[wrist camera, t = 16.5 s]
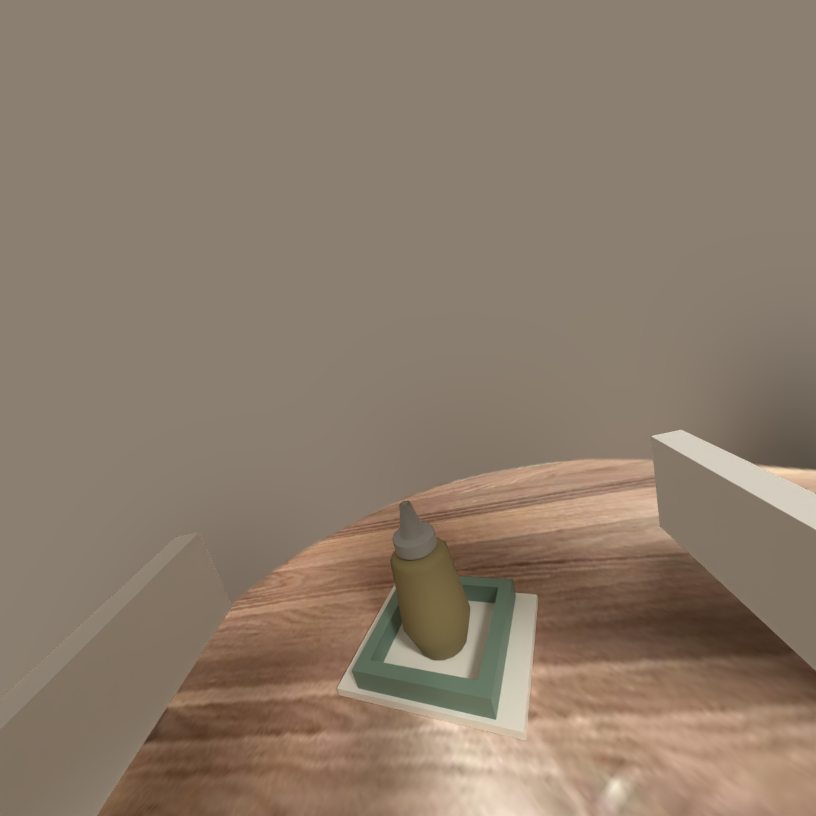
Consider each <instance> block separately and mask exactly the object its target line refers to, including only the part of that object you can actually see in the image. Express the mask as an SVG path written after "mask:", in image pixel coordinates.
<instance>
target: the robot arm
mask: <svg viewBox="0 0 816 816" xmlns="http://www.w3.org/2000/svg"><path fill="white" fill-rule="evenodd" d="M651 441H652V451H653V461H654V471H655V481H656V491H657V501H658V512H659V522H660V527H661V528H662V529H663V530H665V531H666V532H667V533H668V534H669V535H670V536H671V537H672V538H673V539H674V540H675V541H676V542H677V543H679V544H680V545H681V546H682V547H683V548H684V549H685V550H686V551H687V552H688V553H689V554H690V555H691V556H693V557H694V558H695V559H696V560H697V561H698V562H699V563H700V564H701V565H702V566H703V567H704V568H705V569H706V570H708V571H709V572H710V573H711V574H712V575H713V576H714V577H715V578H716V579H717V580H718V581H719V582H720V583H722V584H723V585H724V586H725V587H726V588H727V589H728V590H729V591H730V592H731V593H732V594H733V595H734V596H736V597H737V598H738V599H739V600H740V601H741V602H742V603H743V604H744V605H745V606H746V607H747V608H748V609H750V610H751V611H752V612H753V613H754V614H755V615H756V616H757V617H758V618H759V619H760V620H761V621H762V622H763V623H765V624H766V625H767V626H768V627H769V628H770V629H771V630H772V631H773V632H774V633H775V634H776V635H777V636H779V637H780V638H781V639H782V640H783V641H784V642H785V643H786V644H787V645H788V646H789V647H790V648H791V649H793V650H794V651H795V652H796V653H797V654H798V655H799V656H800V657H801V658H802V659H803V660H804V661H805V662H807V663H808V664H809V665H810V666H811V667H812V668H813V669H814V670H815V671H816V494H815V493H813V492H811V491H809V490H807V489H804V488H802V487H800V486H798V485H796V484H794V483H792V482H790V481H788V480H786V479H783V478H781V477H779V476H777V475H775V474H773V473H771V472H769V471H767V470H765V469H763V468H760V467H758V466H756V465H754V464H752V463H750V462H748V461H746V460H743V459H742V458H739V457H737V456H735V455H733V454H731V453H729V452H727V451H725V450H723V449H721V448H718V447H716V446H714V445H712V444H710V443H708V442H706V441H704V440H701V439H699V438H697V437H695V436H693V435H691V434H689V433H687V432H685V431H683V430H678V431H673V432H669V433H664V434H659V435H654V436H651ZM231 607H232V605H231V603H230V601H229V598H228V596H227V594H226V592H225V589H224V587H223V585H222V583H221V580H220V578H219V576H218V574H217V571H216V569H215V567H214V564H213V562H212V560H211V557H210V555H209V553H208V551H207V549H206V546H205V544H204V542H203V539H202V537H201V535H200V533H199V532H196V533H192V534H187V535H183V536H178V537H176V538H174V539H173V540H172V541H171V542H170V543H169V544H168V545H167V546H166V547H165V548H164V549H163V550H161V551H160V552H159V553H158V554H157V555H156V556H155V557H154V558H153V559H152V560H150V561H149V562H148V563H147V564H146V565H145V566H144V567H143V568H142V569H141V570H140V571H139V572H137V573H136V574H135V575H134V576H133V577H132V578H131V579H130V580H129V581H128V582H127V583H126V584H124V585H123V586H122V587H121V588H120V589H119V590H118V591H117V592H116V593H115V594H114V595H112V597H110V598H109V599H108V600H107V601H106V602H105V603H104V604H103V605H102V606H101V607H99V608H98V609H97V610H96V611H95V612H94V613H93V614H92V615H91V616H90V617H89V618H88V619H87V620H85V622H83V623H82V624H81V625H80V626H79V627H78V628H77V629H76V630H75V631H73V632H72V633H71V634H70V635H69V636H68V637H67V638H66V639H65V640H64V641H63V642H62V643H60V645H58V646H57V647H56V648H55V649H54V650H53V651H52V652H51V653H50V654H49V655H47V656H46V657H45V658H44V659H43V660H42V661H41V662H40V663H39V664H38V665H37V666H35V667H34V668H33V669H32V670H31V671H30V672H29V673H28V674H27V675H26V676H25V677H24V678H22V679H21V680H20V681H19V682H18V683H17V684H16V685H15V686H14V687H13V688H12V689H11V690H9V691H8V692H7V694H5V695H4V696H3V697H2V698H1V699H0V816H97V815H98V813H99V812H100V810H101V809H102V807H103V806H104V804H105V803H106V801H107V799H108V798H109V796H110V795H111V793H112V792H113V790H114V789H115V787H116V785H117V784H118V782H119V781H120V779H121V778H122V776H123V775H124V773H125V772H126V770H127V768H128V767H129V765H130V764H131V762H132V761H133V759H134V758H135V756H136V754H137V753H138V751H139V750H140V748H141V747H142V745H143V744H144V742H145V741H146V739H147V737H148V736H149V734H150V733H151V731H152V730H153V728H154V727H155V725H156V723H157V722H158V720H159V719H160V717H161V716H162V714H163V713H164V711H165V710H166V708H167V706H168V705H169V703H170V702H171V700H172V699H173V697H174V696H175V694H176V692H177V691H178V689H179V688H180V686H181V685H182V683H183V682H184V680H185V679H186V677H187V675H188V674H189V672H190V671H191V669H192V668H193V666H194V665H195V663H196V661H197V660H198V658H199V657H200V655H201V654H202V652H203V651H204V649H205V648H206V646H207V644H208V643H209V641H210V640H211V638H212V637H213V635H214V634H215V632H216V630H217V629H218V627H219V626H220V624H221V623H222V621H223V620H224V618H225V617H226V615H227V613H228V612H229V610H230V609H231Z"/></svg>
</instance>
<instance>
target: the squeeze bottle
mask: <svg viewBox="0 0 816 816" xmlns="http://www.w3.org/2000/svg"><path fill="white" fill-rule="evenodd" d="M399 507H400V527H401V528H400V529H399V530H398V531H396V532H395V534H394V536H393V543H394V546H395V551H394V552H393V555H392V557H391V566H392V571H393V577H394V582H395V587H396V593H397V598H398V603H399V609H400V614H401V619H402V625H403V630H404V632H405V633H406V634H407V635H408V636H409V638H410V639H411V640H412V641H413V642H414V644H415V645H416V646H417V647H418V648H419V650H420V651H421V652H422V653H423V654H424V656H425V657H428V658H430V659H432V660H446V659H449V658H452V657H454V656H455V655H457V654H458V653H459V652H460V651H462V649H463V647H464V645H465V644H466V642H467V634H468V627H469V619H470V605H469V602H468V600H467V597H466V594H465V592H464V589H463V587H462V584H461V581H460V579H459V576H458V573H457V571H456V568H455V566H454V563H453V560H452V558H451V555H450V553H449V550H448V548H447V545H446V543H445V542H444V541H442V540H441V539H439V538H437V537H436V534H435V530H434V528H433V526H432V525H430V524H429V523H427V522H421V521H420V519H419V518H418V516H417V514H416V512H415V510H414V509H413V507H412V505H411V503H410V502H409V501H404V502H402V503H400V505H399Z"/></svg>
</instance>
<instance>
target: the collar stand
mask: <svg viewBox="0 0 816 816" xmlns="http://www.w3.org/2000/svg"><path fill="white" fill-rule="evenodd" d="M459 579H460V581H461V584H462V587H463V589H464V592H465V594H466V597H467V600H468V602H469V605H470V619H469V627H468V634H467V642H466V644H465V645H464V647H463V649H462V651H460V652H459V653H458V654H457V655H455V656H454V657H452V658H449V659H446V660H432V659H430V658H428V657H425V656H424V654H423V653H422V652H421V651H420V650H419V648H418V647H417V646H416V645H415V644H414V642H413V641H412V640H411V639H410V638H409V636H408V635H407V634H406V633H405V632H404V630H403V625H402V619H401V614H400V609H399V603H398V598H397V593H396V587H395V584H394V586H393V588H392V590H391V591H390V593H389V595H388V597H387V599H386V600H385V602H384V604H383V606H382V608H381V609H380V611H379V613H378V615H377V617H376V618H375V620H374V622H373V624H372V626H371V627H370V629H369V631H368V633H367V635H366V637H365V638H364V640H363V642H362V644H361V646H360V647H359V649H358V651H357V653H356V655H355V656H354V658H353V660H352V662H351V664H350V665H349V667H348V669H347V671H346V673H345V675H344V676H343V678H342V680H341V682H340V684H339V685H338V687H337V690H338V693H339V695H340V696H345V697H349V698H353V699H357V700H361V701H365V702H369V703H373V704H377V705H381V706H385V707H390V708H394V709H398V710H402V711H406V712H410V713H414V714H418V715H422V716H426V717H430V718H435V719H439V720H443V721H447V722H451V723H455V724H459V725H463V726H467V727H471V728H475V729H479V730H484V731H488V732H492V733H496V734H500V735H504V736H508V737H512V738H516V739H520V740H524V741H526V732H527V721H528V710H529V699H530V688H531V677H532V666H533V654H534V643H535V632H536V621H537V610H538V597H537V595H536V594H524V593H515V589H514V584H513V580H512V579H500V578H485V577H470V576H459Z"/></svg>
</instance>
